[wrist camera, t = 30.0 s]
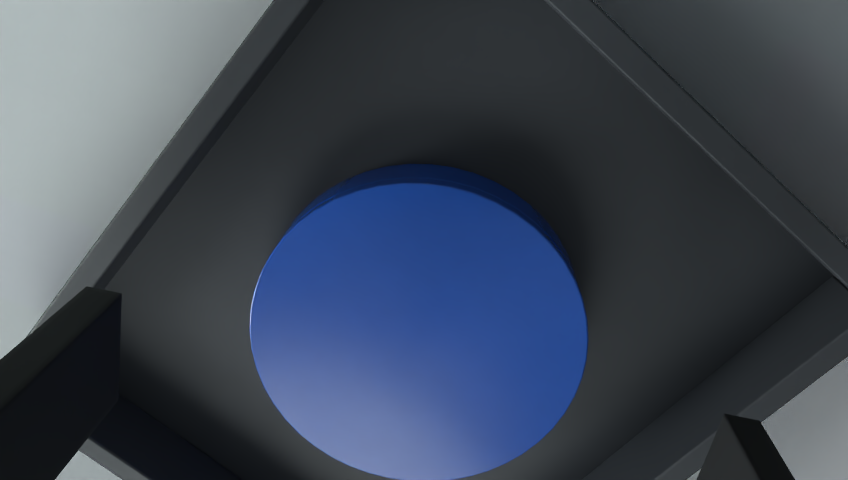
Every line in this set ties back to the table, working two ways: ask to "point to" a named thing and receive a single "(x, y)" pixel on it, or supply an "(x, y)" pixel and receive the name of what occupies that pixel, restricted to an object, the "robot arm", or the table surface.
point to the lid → (420, 324)
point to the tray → (498, 161)
